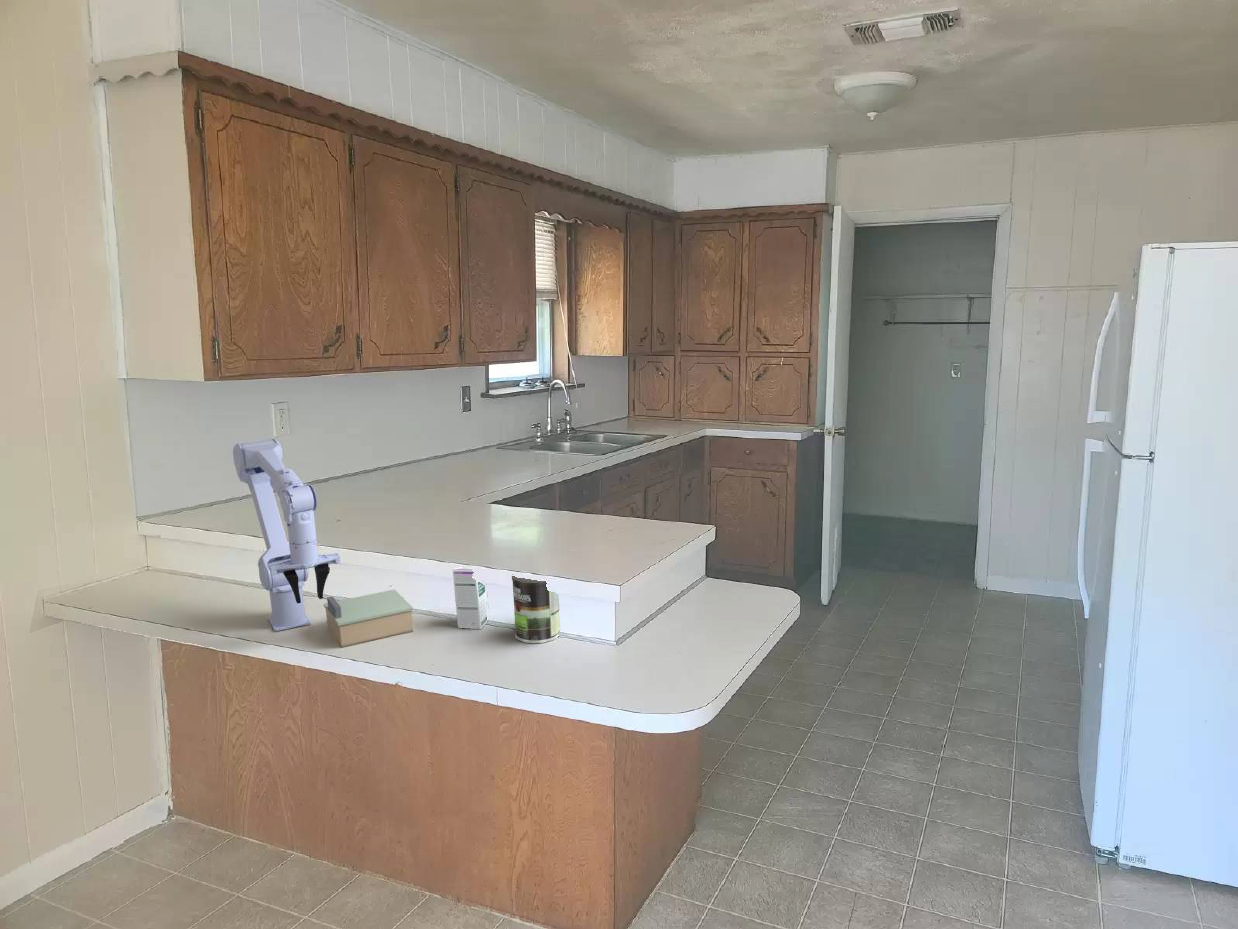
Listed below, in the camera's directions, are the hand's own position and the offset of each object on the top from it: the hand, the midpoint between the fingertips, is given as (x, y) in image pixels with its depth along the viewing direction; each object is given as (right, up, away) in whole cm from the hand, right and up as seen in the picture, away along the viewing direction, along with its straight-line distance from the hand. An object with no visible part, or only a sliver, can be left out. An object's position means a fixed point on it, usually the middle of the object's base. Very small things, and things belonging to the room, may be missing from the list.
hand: (309, 599), depth 193 cm
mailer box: (+11, -8, +8) cm, 16 cm away
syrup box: (+35, -7, +9) cm, 37 cm away
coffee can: (+50, -8, +2) cm, 51 cm away
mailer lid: (+11, -3, +7) cm, 13 cm away
